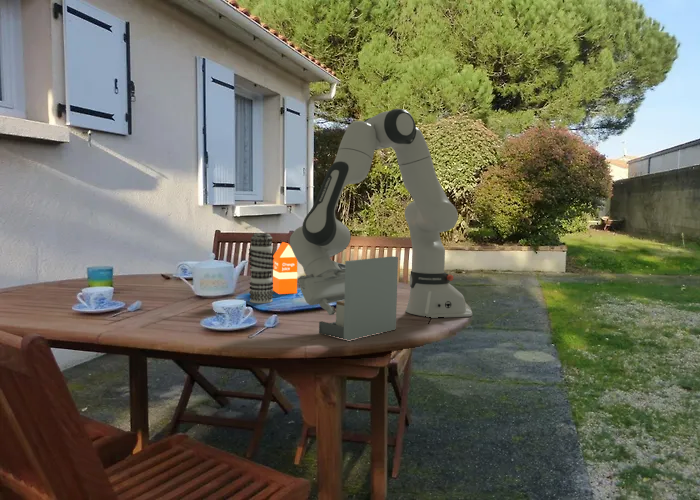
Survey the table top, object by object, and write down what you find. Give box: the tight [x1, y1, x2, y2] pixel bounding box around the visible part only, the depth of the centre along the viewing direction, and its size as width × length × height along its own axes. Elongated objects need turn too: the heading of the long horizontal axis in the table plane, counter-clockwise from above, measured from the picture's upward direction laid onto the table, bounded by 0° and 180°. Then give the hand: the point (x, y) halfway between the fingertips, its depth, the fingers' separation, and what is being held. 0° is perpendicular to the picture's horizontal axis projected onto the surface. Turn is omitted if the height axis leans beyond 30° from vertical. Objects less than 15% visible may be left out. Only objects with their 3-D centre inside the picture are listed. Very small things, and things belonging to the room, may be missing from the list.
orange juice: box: [272, 241, 298, 295], centre depth 226 cm, size 8×9×20 cm
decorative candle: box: [248, 232, 275, 304], centre depth 206 cm, size 9×9×25 cm
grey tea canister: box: [335, 300, 344, 327], centre depth 160 cm, size 6×6×9 cm
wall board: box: [318, 255, 399, 340], centre depth 163 cm, size 20×12×22 cm, turn 136°
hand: (344, 311), depth 161 cm, fingers open, 8 cm apart
